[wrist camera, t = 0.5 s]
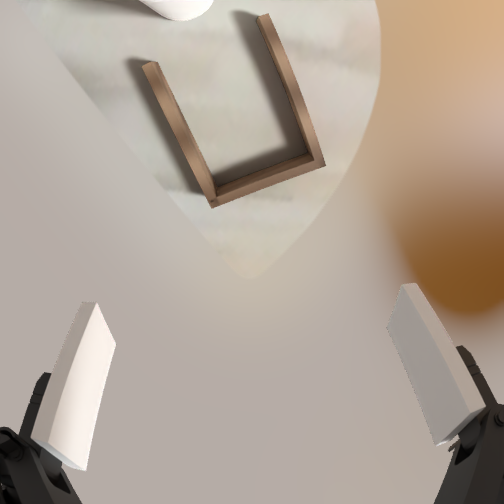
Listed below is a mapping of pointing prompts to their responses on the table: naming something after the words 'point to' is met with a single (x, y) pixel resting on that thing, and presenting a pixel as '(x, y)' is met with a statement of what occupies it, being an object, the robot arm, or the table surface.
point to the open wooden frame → (259, 178)
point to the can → (179, 8)
